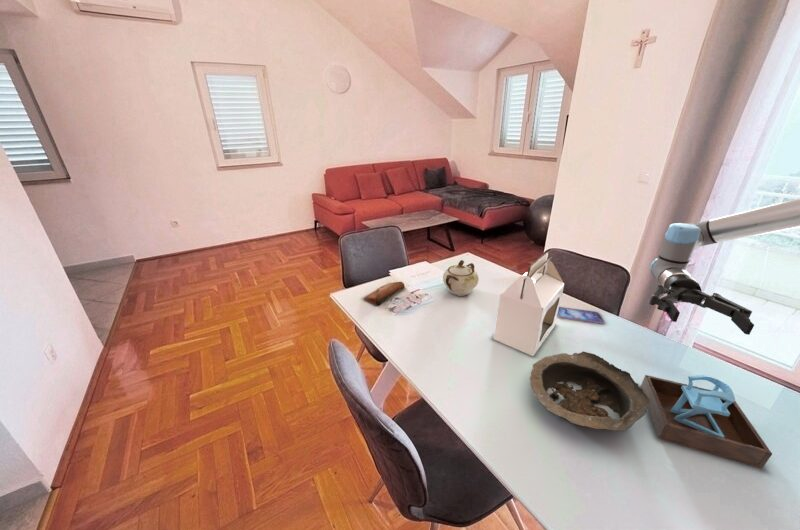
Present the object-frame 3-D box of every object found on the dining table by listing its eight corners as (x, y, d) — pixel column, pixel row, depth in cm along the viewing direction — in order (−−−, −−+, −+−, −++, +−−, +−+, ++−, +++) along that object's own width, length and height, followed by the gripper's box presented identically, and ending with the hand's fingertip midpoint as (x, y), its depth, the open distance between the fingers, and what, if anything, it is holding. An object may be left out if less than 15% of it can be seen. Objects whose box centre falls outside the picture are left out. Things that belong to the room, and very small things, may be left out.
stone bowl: (656, 416, 77) (668, 389, 72) (600, 477, 65) (610, 449, 61) (562, 358, 96) (567, 334, 91) (506, 397, 84) (509, 371, 80)
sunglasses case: (390, 283, 142) (395, 273, 138) (400, 294, 140) (406, 284, 136) (362, 299, 129) (368, 289, 125) (373, 311, 127) (379, 301, 123)
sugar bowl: (460, 306, 125) (463, 272, 119) (431, 293, 135) (432, 261, 129) (486, 289, 138) (490, 258, 132) (458, 279, 147) (460, 249, 141)
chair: (666, 403, 79) (683, 366, 75) (707, 413, 77) (728, 375, 72) (677, 428, 73) (697, 389, 68) (723, 440, 70) (747, 400, 65)
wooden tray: (722, 409, 79) (731, 394, 77) (761, 470, 65) (772, 454, 63) (639, 388, 85) (645, 374, 83) (658, 439, 71) (665, 424, 69)
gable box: (532, 357, 97) (549, 276, 86) (492, 340, 105) (503, 264, 93) (554, 326, 112) (571, 253, 101) (518, 313, 120) (530, 244, 109)
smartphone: (555, 306, 123) (598, 312, 119) (555, 308, 123) (597, 314, 119) (558, 316, 116) (604, 322, 112) (558, 318, 117) (603, 324, 113)
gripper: (729, 304, 89) (775, 348, 71) (625, 289, 98) (643, 324, 80) (740, 281, 86) (791, 321, 68) (632, 267, 95) (652, 299, 77)
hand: (711, 323), depth 74 cm, fingers open, 13 cm apart
